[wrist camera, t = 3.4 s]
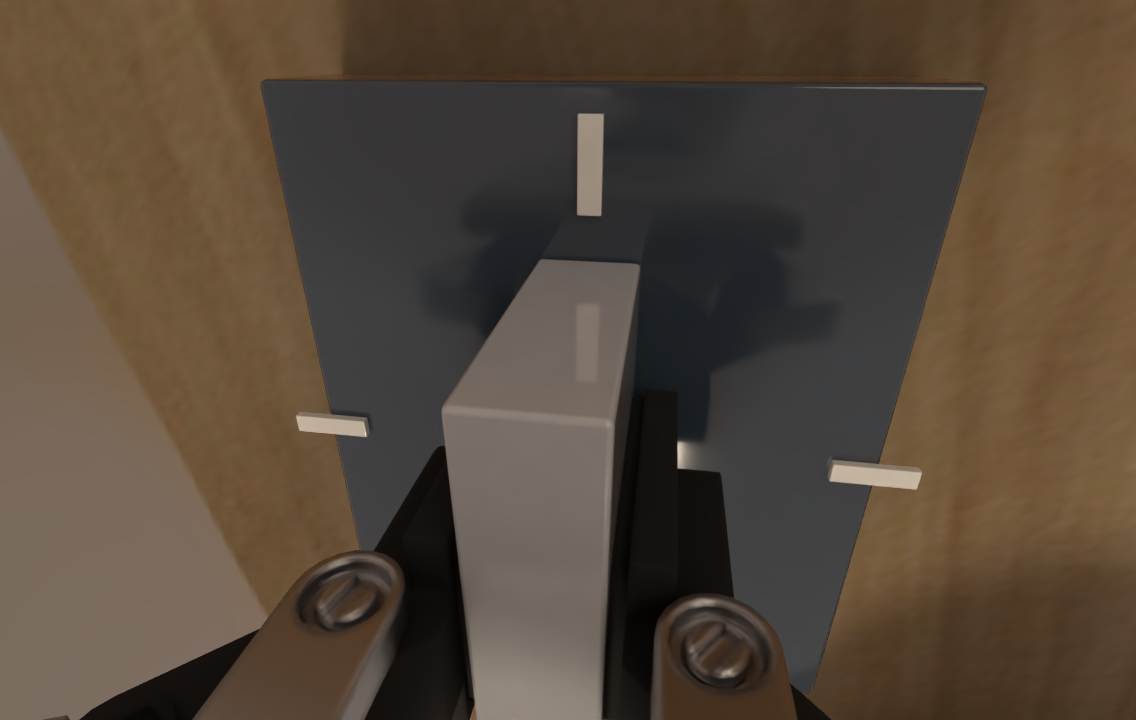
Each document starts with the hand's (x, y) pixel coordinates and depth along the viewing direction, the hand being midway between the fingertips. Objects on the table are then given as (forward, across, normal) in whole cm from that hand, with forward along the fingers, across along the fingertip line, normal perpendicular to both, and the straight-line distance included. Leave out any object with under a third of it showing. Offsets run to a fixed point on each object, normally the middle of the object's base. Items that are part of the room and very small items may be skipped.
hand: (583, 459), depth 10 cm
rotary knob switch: (+3, 0, 0) cm, 3 cm away
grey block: (0, 0, 0) cm, 0 cm away
